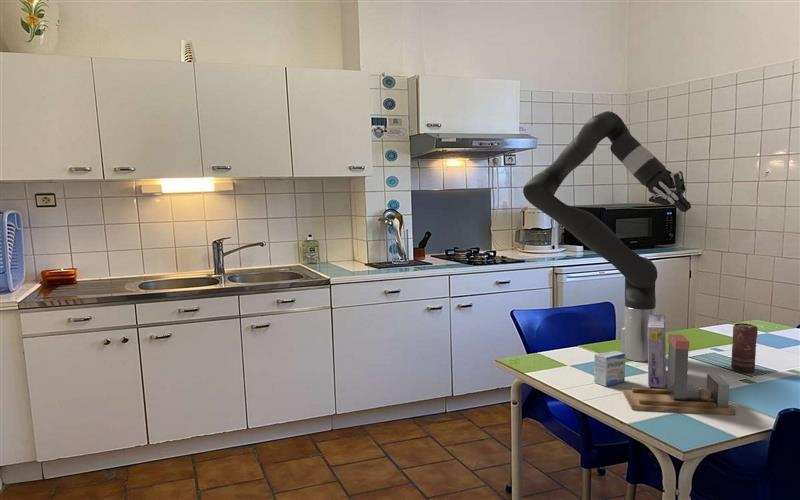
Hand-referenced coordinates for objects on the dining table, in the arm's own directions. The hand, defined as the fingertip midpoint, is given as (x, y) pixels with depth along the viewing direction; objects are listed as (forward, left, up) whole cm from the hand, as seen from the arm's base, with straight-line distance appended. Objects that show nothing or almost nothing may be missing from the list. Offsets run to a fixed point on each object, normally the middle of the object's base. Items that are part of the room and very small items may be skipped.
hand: (688, 209), depth 152 cm
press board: (+7, -15, -50) cm, 52 cm away
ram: (+8, -13, -48) cm, 51 cm away
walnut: (+11, -10, -49) cm, 51 cm away
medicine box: (-13, -15, -50) cm, 54 cm away
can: (+5, +26, -50) cm, 57 cm away
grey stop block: (+14, -8, -49) cm, 51 cm away
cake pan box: (-7, -1, -50) cm, 51 cm away
